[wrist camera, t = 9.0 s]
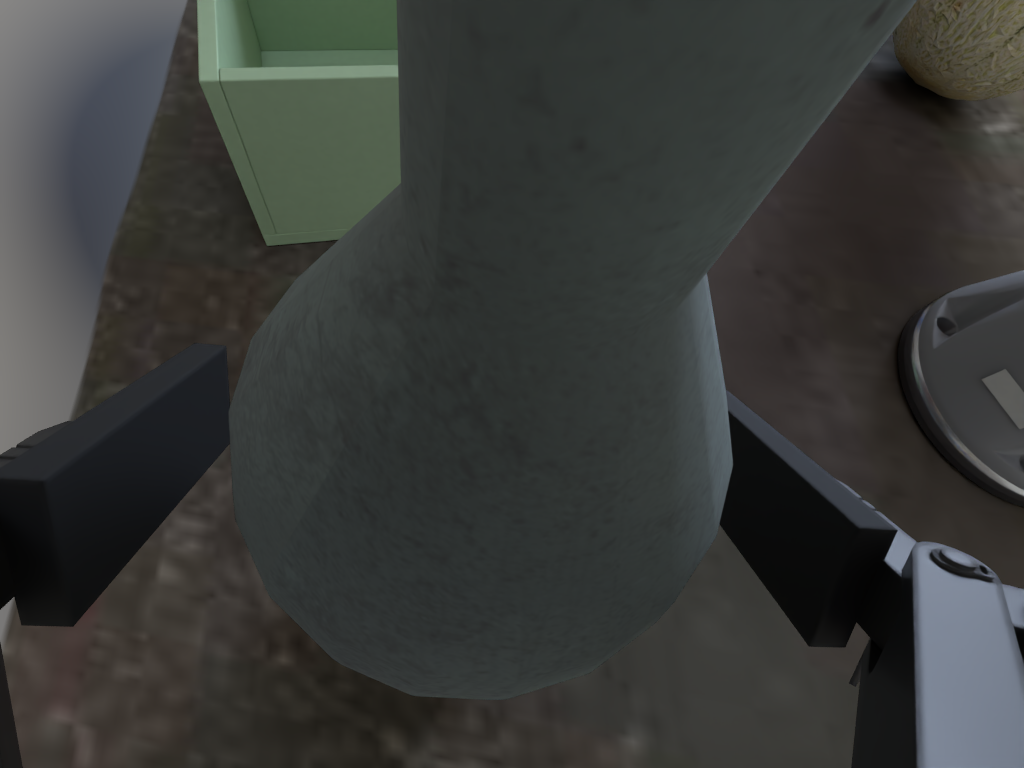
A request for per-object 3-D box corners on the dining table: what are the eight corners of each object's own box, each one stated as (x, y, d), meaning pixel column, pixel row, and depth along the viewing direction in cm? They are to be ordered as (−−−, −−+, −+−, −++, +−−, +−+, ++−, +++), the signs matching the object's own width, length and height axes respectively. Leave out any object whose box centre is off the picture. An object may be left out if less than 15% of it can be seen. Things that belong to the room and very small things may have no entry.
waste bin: (479, 54, 42) (497, -121, 32) (530, 223, 36) (571, 72, 26) (252, 57, 39) (192, -140, 29) (266, 246, 33) (198, 81, 23)
